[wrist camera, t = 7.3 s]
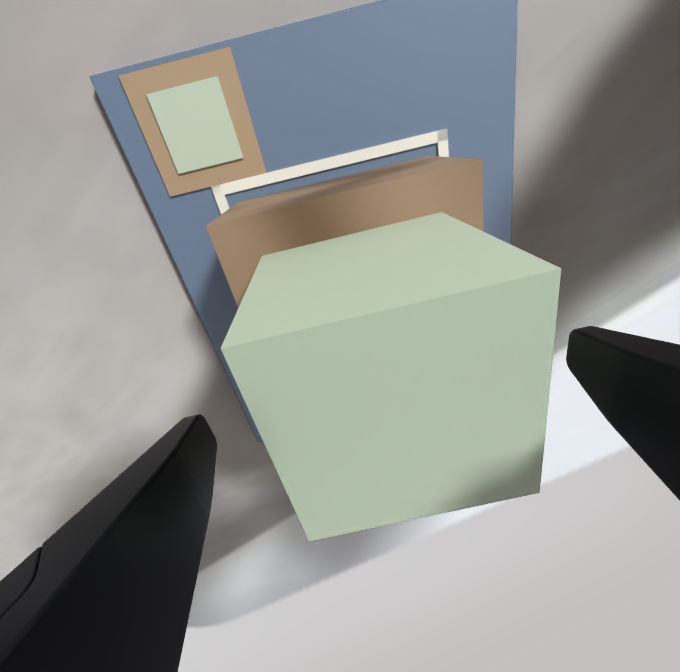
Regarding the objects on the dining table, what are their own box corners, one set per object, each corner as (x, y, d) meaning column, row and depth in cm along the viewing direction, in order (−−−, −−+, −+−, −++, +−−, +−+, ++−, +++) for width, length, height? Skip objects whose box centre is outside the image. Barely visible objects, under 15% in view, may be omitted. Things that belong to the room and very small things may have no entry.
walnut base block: (428, 155, 14) (482, 158, 10) (441, 326, 18) (485, 384, 13) (237, 202, 14) (205, 225, 10) (291, 360, 18) (286, 428, 14)
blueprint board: (510, -29, 12) (521, -39, 11) (502, 382, 21) (508, 389, 20) (96, 79, 12) (86, 75, 12) (259, 436, 21) (257, 444, 20)
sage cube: (441, 211, 10) (561, 268, 5) (452, 363, 13) (539, 492, 8) (261, 255, 10) (220, 349, 6) (309, 395, 13) (308, 541, 8)
